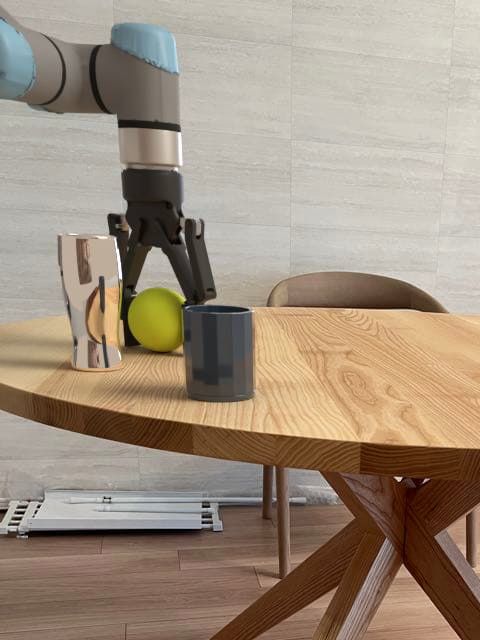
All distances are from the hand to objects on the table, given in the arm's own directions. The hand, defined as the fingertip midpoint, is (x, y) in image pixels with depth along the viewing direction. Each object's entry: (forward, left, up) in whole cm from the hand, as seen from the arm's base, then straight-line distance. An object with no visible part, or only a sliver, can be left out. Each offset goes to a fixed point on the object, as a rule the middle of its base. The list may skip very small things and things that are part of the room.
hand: (162, 349), depth 112 cm
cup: (+22, -17, 0) cm, 28 cm away
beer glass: (+2, -14, 0) cm, 14 cm away
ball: (0, 0, 0) cm, 0 cm away
